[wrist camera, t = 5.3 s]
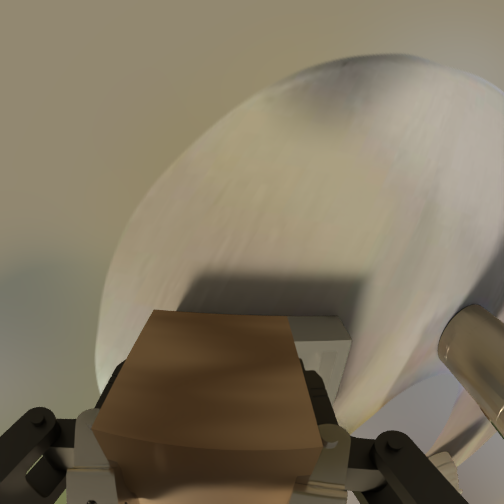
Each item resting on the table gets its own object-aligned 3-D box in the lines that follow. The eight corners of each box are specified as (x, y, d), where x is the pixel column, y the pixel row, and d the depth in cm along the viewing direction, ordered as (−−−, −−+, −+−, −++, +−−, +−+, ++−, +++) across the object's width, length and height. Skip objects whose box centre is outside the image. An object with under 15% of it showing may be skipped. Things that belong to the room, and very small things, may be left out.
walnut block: (287, 316, 11) (322, 446, 5) (274, 407, 12) (289, 520, 6) (154, 309, 10) (91, 428, 5) (166, 402, 12) (139, 510, 6)
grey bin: (337, 315, 28) (352, 339, 24) (311, 420, 33) (318, 445, 28) (175, 311, 27) (165, 336, 23) (186, 419, 32) (182, 445, 28)
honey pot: (437, 471, 44) (462, 520, 27) (393, 489, 44) (414, 544, 27) (456, 444, 40) (488, 497, 23) (409, 464, 40) (438, 527, 23)
